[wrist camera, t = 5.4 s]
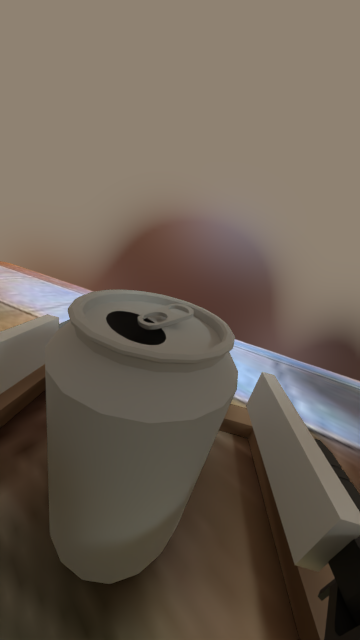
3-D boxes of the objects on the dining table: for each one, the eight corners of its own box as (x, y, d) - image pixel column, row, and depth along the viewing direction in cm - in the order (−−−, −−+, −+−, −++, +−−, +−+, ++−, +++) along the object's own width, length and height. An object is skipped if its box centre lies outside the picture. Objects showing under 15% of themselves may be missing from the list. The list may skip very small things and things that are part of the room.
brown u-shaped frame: (262, 425, 19) (267, 414, 18) (380, 750, 6) (409, 746, 6) (49, 366, 19) (49, 354, 19) (-221, 558, 7) (-242, 538, 6)
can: (36, 471, 11) (24, 275, 7) (142, 415, 16) (170, 285, 12) (72, 670, 6) (101, 428, 2) (204, 501, 12) (285, 337, 7)
